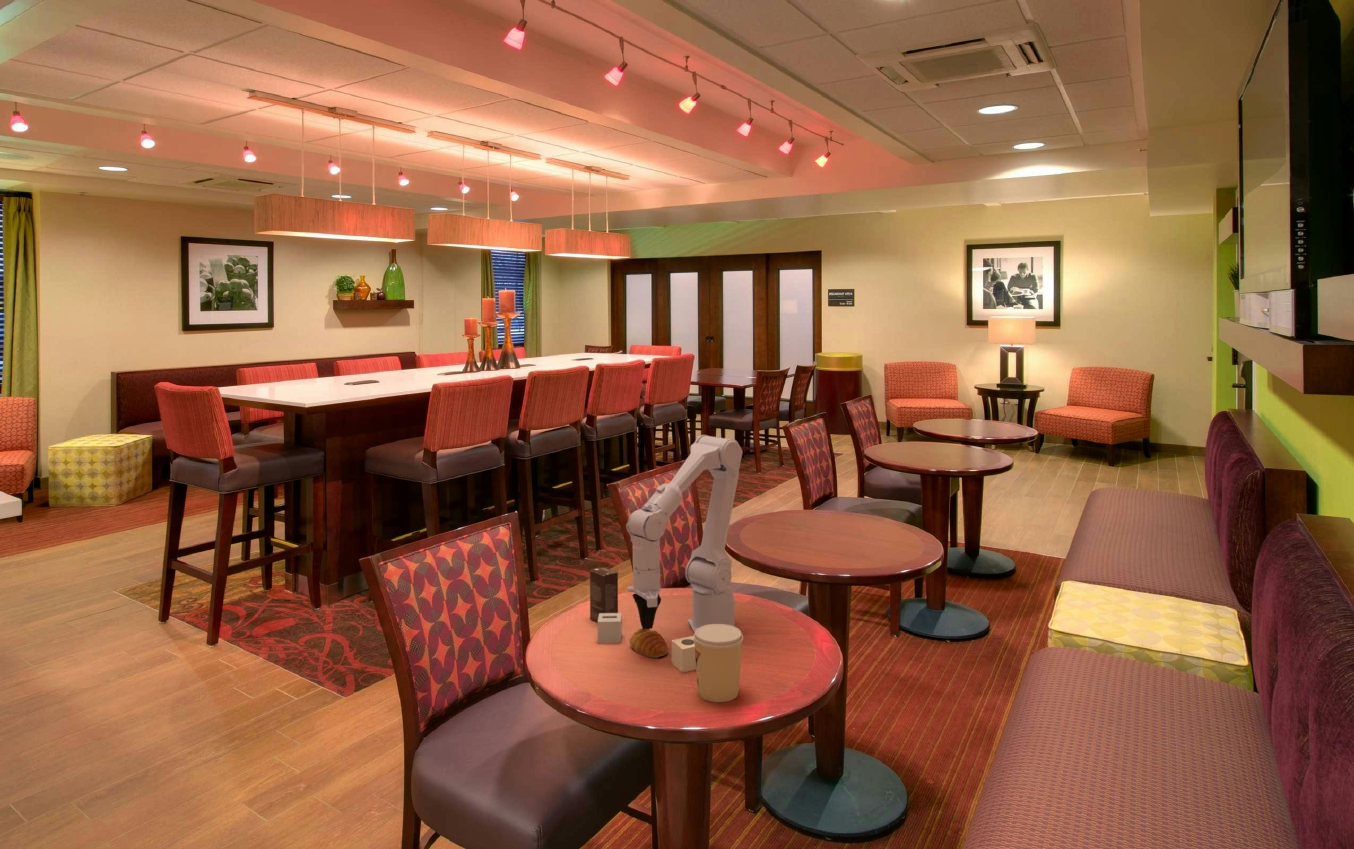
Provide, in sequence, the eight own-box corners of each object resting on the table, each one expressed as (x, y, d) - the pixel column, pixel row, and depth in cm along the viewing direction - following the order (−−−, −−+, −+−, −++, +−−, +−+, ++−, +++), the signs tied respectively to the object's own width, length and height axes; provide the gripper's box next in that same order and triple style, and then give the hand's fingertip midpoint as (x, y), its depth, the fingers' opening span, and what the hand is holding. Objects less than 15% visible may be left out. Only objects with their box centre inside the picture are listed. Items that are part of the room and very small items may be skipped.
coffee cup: (703, 678, 158) (703, 620, 156) (748, 686, 154) (749, 627, 153) (686, 699, 149) (686, 637, 148) (733, 708, 146) (734, 645, 144)
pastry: (676, 655, 169) (676, 638, 169) (649, 663, 166) (649, 645, 165) (652, 640, 177) (652, 623, 177) (626, 647, 173) (626, 630, 173)
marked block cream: (693, 658, 167) (692, 635, 167) (704, 667, 163) (704, 643, 162) (671, 663, 165) (671, 639, 164) (682, 672, 161) (682, 648, 160)
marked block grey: (621, 634, 180) (621, 612, 180) (620, 643, 175) (620, 620, 175) (599, 634, 180) (599, 612, 179) (597, 643, 175) (597, 621, 174)
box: (619, 621, 187) (618, 572, 186) (603, 626, 185) (602, 576, 183) (604, 614, 192) (604, 565, 190) (589, 618, 189) (588, 569, 188)
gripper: (622, 557, 175) (623, 616, 177) (632, 578, 161) (633, 642, 163) (654, 555, 176) (655, 614, 178) (667, 576, 162) (667, 639, 164)
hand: (647, 627), depth 171 cm, fingers closed
